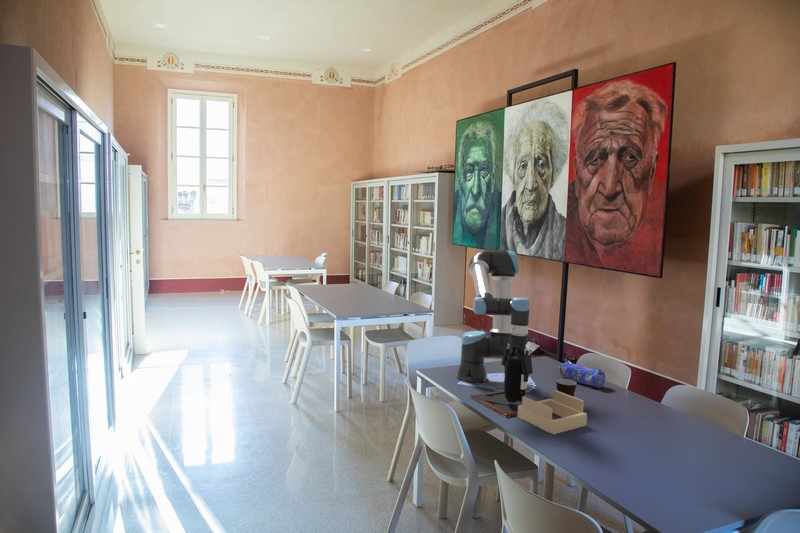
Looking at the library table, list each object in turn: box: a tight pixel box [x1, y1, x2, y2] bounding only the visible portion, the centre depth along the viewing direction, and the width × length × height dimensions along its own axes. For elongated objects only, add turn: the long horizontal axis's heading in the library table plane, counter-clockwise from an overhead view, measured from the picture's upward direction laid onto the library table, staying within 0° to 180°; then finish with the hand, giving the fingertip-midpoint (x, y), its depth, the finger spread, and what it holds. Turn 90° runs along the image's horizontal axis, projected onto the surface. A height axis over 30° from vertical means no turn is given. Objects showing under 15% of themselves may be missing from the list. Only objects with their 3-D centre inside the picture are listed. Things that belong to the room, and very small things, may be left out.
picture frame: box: [470, 390, 522, 418], centre depth 237 cm, size 20×2×25 cm
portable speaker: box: [503, 355, 527, 403], centre depth 232 cm, size 9×9×20 cm
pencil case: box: [558, 360, 606, 389], centre depth 271 cm, size 22×9×10 cm, turn 42°
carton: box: [516, 389, 588, 435], centre depth 218 cm, size 19×19×10 cm
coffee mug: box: [555, 378, 577, 397], centre depth 241 cm, size 12×9×10 cm
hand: (515, 385), depth 232 cm, fingers closed on portable speaker, 9 cm apart
